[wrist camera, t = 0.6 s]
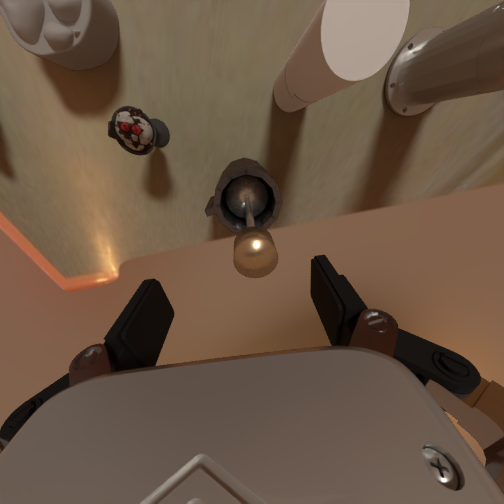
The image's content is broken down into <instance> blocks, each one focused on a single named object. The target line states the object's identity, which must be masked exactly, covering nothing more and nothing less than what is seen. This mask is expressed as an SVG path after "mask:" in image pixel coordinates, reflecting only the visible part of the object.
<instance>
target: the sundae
mask: <svg viewBox="0 0 504 504" xmlns="http://www.w3.org/2000/svg"><path fill="white" fill-rule="evenodd" d="M108 136H109V137H111V138H113V139H116V140H117V141H118V143H119V144H120V145H121V146H122V148H124V149H125V150H126V151H128V152H130V153H132V154H135V155H146V154H148V153H150V152H151V151H152V149H153V147H154V146H156V147H163V146H165V145H166V144H167V143H168V141H169V131H168V128H167V127H166V125H165V124H164V123H163V122H162V121H160V120H158V119H149V118H148V117H147V115H145V114H144V113H143V112H142V110H140V109H137V108H134V107H131V106H124V107H121V108H119V109H118V110H116V111H115V113H114V114H113V116H112V120H111V121H109V122H108Z"/></svg>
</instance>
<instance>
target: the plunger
mask: <svg viewBox="0 0 504 504" xmlns="http://www.w3.org/2000/svg"><path fill="white" fill-rule="evenodd" d="M267 201H268V193H267V190H266V187H265V186H264V184H263V183H262V182H261V181H260V180H259V179H257V178H256V177H253V176H240V177H238V178H236V179H235V180H233V181H232V182H231V184H230V185H229V187H228V189H227V192H226V202H227V205H228V207H229V209H230V210H231V212H233V213H234V214H235V215H237V216H239V217H241V218H246V221H247V228H245V229H243V230H241V231H240V232H239V233H238V234H237V236H236V238H235V242H234V265H235V268H236V269H237V271H238V272H239V273H241V274H242V275H244V276H246V277H250V278H260V277H264V276H266V275H268V274H270V273H271V272H272V271H273V270H274V269H275V267H276V266H277V263H278V253H277V251H276V248H275V245H274V242H273V239H272V236H271V234H270V233H269V232H268V231H267V230H265V229H264V228H261V227H257V226H255V223H254V217H255V216H257V215H259V214H260V213H261V212H262V211H263V210H264V209H265V207H266V205H267Z"/></svg>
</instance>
